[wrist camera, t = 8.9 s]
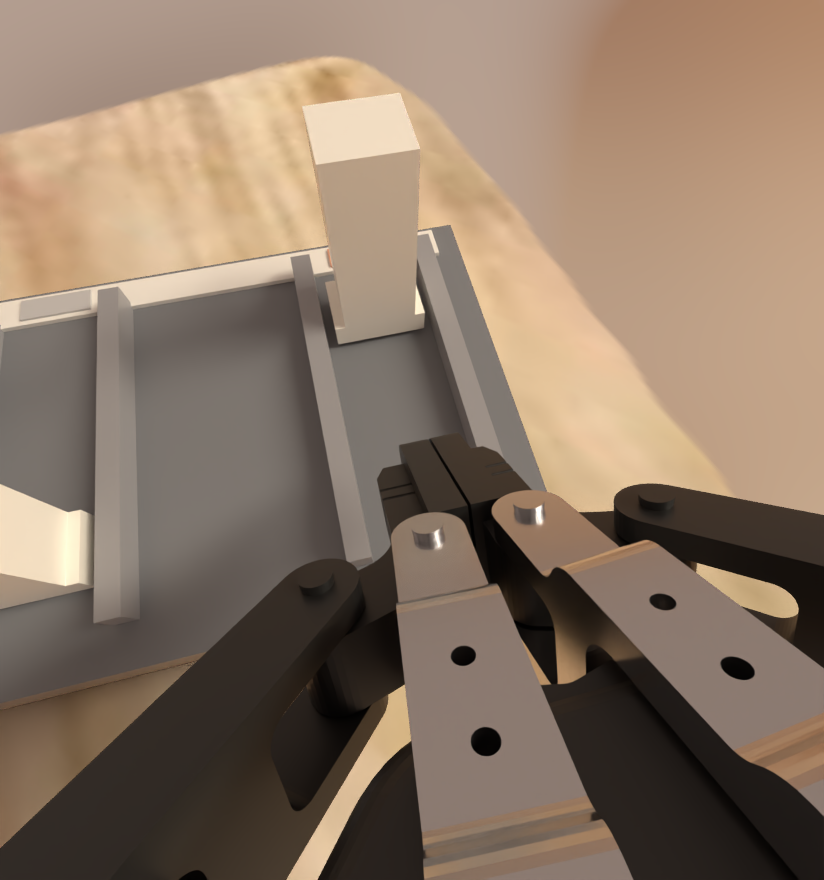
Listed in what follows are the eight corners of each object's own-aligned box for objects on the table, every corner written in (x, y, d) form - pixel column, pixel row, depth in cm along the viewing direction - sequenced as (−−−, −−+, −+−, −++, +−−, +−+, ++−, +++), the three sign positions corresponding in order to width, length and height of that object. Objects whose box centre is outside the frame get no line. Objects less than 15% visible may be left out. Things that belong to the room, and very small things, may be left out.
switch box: (-47, 722, 17) (-159, 739, 14) (-6, 343, 23) (-76, 290, 20) (551, 571, 19) (583, 553, 16) (446, 263, 26) (452, 203, 22)
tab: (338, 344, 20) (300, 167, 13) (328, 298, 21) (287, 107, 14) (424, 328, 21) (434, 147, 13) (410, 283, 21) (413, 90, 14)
